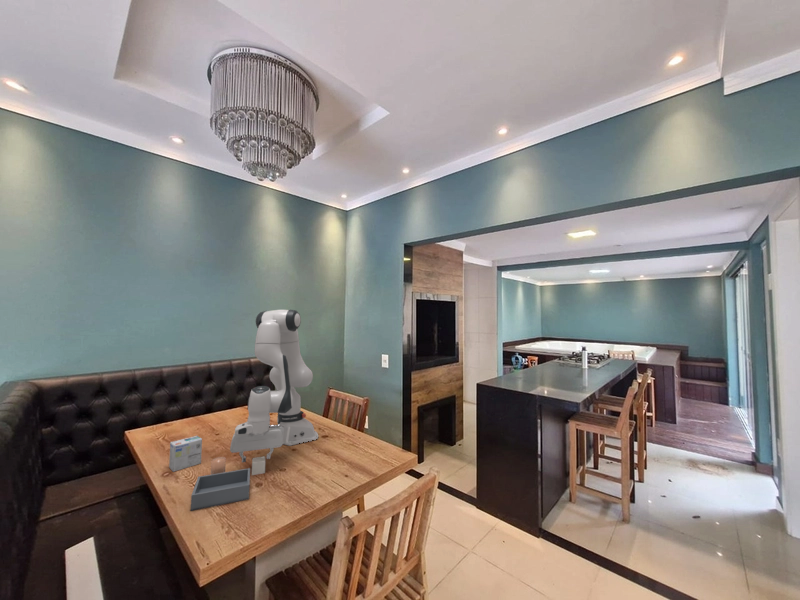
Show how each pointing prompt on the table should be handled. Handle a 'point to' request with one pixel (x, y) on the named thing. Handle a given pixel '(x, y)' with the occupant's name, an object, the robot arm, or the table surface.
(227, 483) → the box
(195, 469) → the table surface
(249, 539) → the table surface
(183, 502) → the table surface
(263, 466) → the cream cube
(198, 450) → the light bulb box
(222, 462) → the tan rounded cylinder
